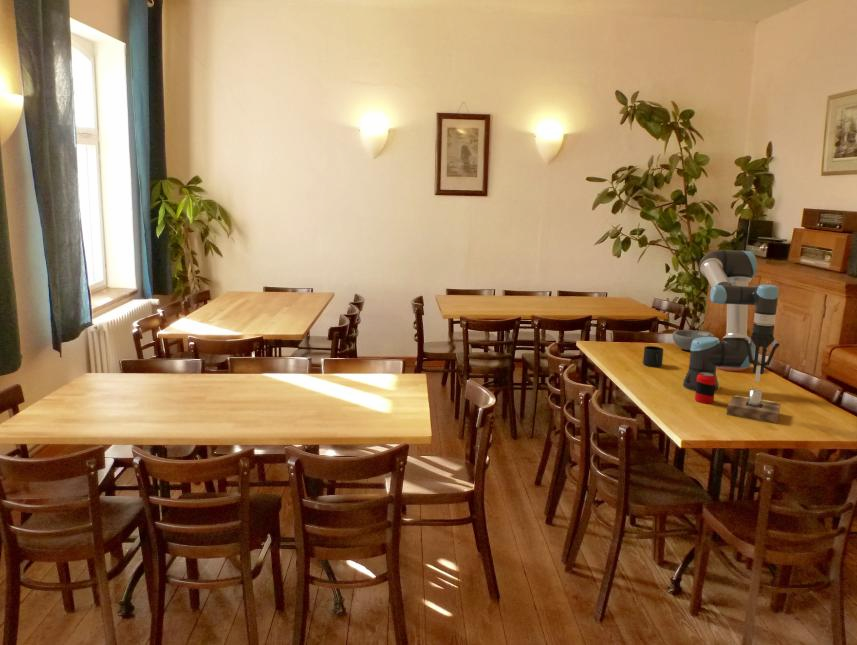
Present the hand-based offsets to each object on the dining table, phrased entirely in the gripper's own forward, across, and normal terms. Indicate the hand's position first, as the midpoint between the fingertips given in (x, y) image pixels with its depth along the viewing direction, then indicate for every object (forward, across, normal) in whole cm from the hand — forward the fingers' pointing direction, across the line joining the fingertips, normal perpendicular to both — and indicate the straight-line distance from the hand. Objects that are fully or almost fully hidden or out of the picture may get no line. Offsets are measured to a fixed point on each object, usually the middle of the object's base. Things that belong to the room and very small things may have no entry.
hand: (757, 381), depth 266 cm
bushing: (+14, 0, 0) cm, 14 cm away
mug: (+14, -53, +56) cm, 79 cm away
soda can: (+14, -20, +7) cm, 26 cm away
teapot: (+14, -20, +75) cm, 79 cm away
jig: (+14, 0, 0) cm, 14 cm away
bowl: (+14, -43, +107) cm, 116 cm away
